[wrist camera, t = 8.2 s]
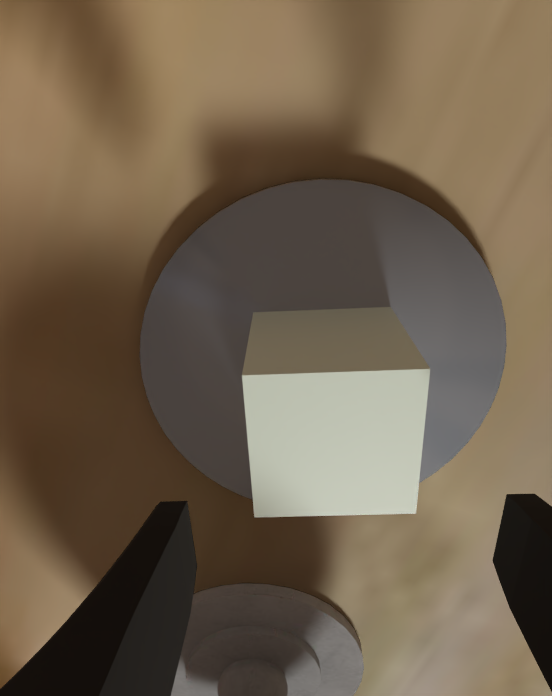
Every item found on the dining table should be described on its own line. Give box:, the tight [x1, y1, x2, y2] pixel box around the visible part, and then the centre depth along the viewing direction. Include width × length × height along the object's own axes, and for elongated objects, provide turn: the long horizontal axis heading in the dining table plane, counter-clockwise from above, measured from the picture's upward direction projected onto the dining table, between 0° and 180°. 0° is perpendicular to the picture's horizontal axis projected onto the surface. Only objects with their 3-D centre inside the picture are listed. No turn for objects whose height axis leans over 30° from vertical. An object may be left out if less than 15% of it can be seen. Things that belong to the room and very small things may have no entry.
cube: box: [242, 307, 430, 517], centre depth 16 cm, size 5×5×5 cm
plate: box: [140, 178, 506, 500], centre depth 18 cm, size 14×14×1 cm
